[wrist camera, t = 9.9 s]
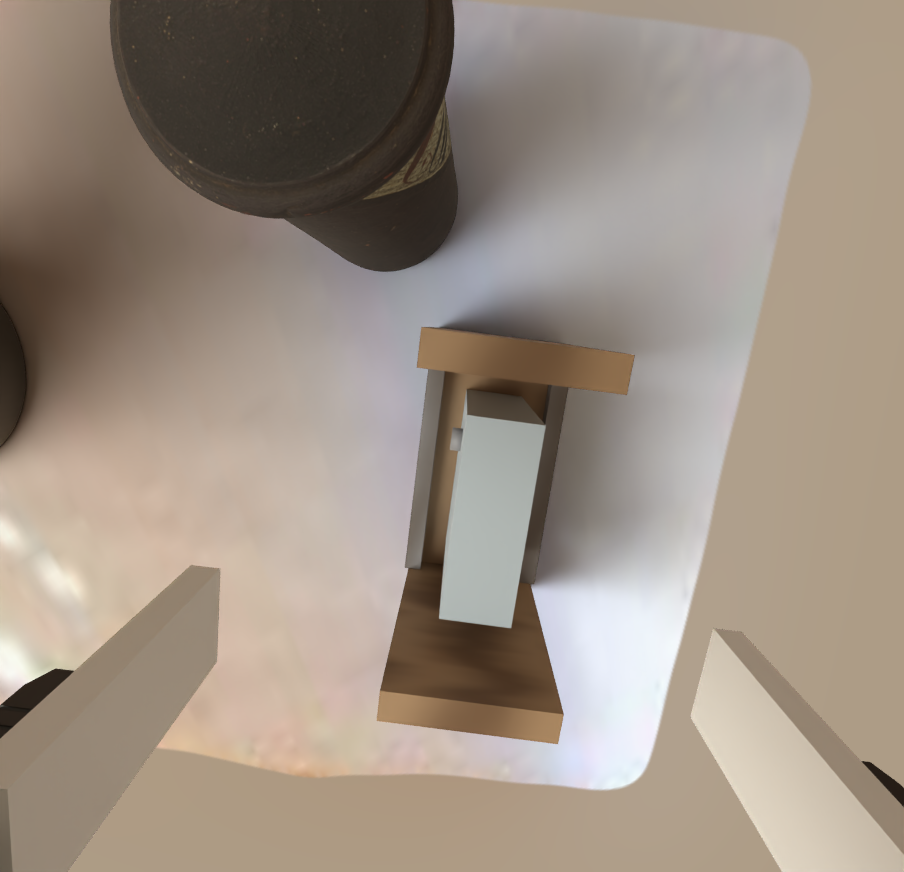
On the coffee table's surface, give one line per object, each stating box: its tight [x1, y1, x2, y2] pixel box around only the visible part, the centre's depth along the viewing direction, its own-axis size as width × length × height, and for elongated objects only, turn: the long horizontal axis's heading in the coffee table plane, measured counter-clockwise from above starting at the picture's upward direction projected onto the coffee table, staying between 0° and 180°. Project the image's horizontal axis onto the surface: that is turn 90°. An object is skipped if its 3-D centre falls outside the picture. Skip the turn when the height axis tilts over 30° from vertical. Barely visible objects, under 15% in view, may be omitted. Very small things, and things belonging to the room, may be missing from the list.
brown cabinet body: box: [377, 327, 635, 744], centre depth 28 cm, size 8×17×14 cm, turn 173°
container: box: [110, 0, 458, 272], centre depth 22 cm, size 9×9×20 cm
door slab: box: [439, 389, 546, 628], centre depth 29 cm, size 4×10×10 cm, turn 172°
